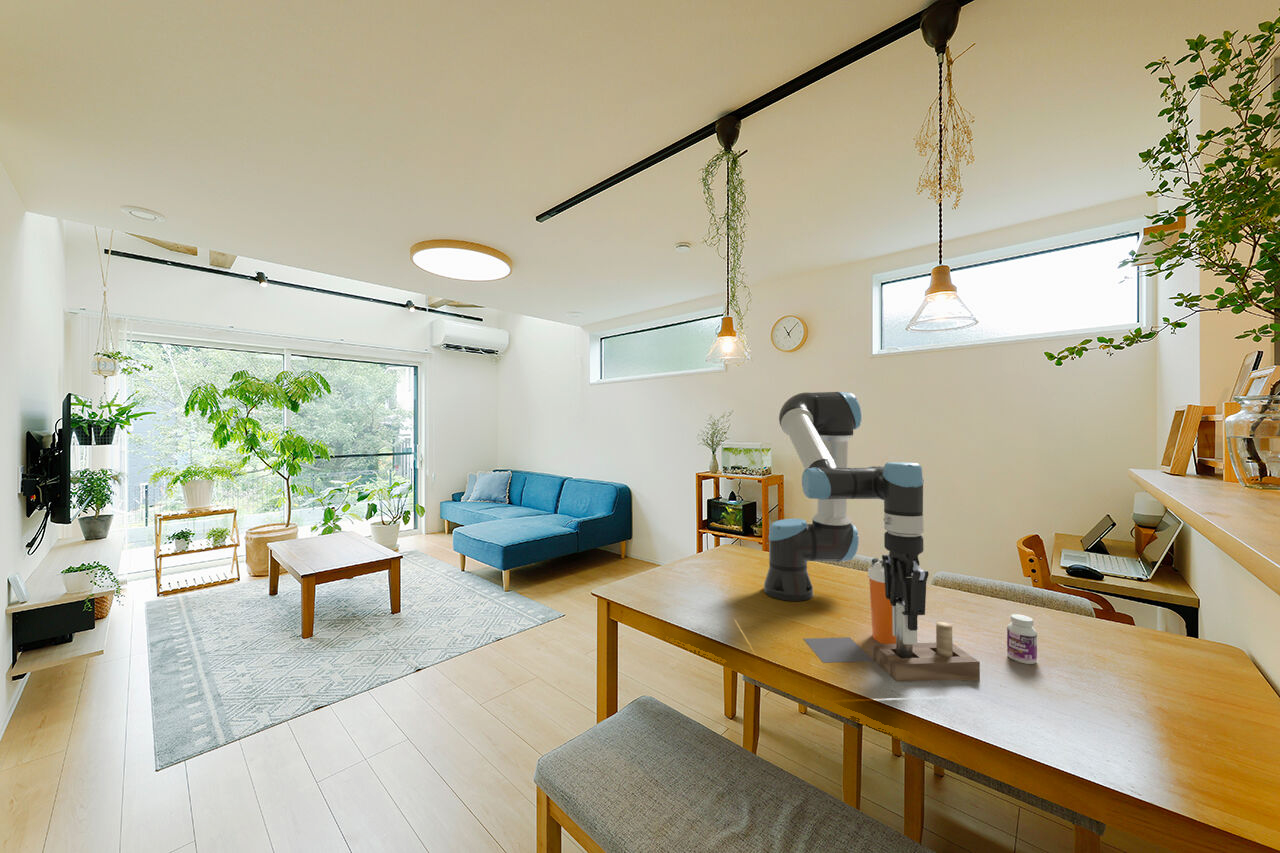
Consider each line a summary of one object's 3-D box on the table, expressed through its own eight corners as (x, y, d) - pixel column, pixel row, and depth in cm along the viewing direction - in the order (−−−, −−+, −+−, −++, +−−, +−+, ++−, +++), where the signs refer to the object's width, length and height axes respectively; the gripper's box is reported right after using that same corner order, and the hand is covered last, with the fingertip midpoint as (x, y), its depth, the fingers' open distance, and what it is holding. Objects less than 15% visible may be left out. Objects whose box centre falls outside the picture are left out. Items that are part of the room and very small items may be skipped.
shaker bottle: (914, 650, 113) (913, 567, 113) (874, 647, 115) (873, 565, 115) (901, 633, 122) (900, 556, 122) (864, 631, 124) (863, 555, 123)
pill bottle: (1006, 659, 108) (1006, 617, 108) (1007, 651, 112) (1007, 610, 112) (1037, 667, 104) (1036, 624, 104) (1037, 658, 108) (1037, 616, 108)
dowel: (933, 666, 105) (933, 622, 105) (946, 666, 105) (946, 622, 105) (942, 674, 102) (942, 628, 102) (956, 673, 102) (955, 627, 102)
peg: (893, 654, 105) (892, 601, 105) (907, 654, 105) (906, 600, 105) (901, 662, 102) (901, 606, 102) (916, 661, 102) (915, 606, 102)
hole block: (873, 661, 108) (873, 644, 108) (950, 659, 108) (950, 642, 108) (896, 683, 99) (896, 664, 99) (979, 680, 99) (979, 661, 99)
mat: (803, 640, 119) (803, 638, 119) (849, 638, 119) (849, 637, 119) (823, 664, 107) (823, 662, 107) (875, 662, 107) (874, 661, 107)
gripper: (867, 525, 111) (868, 624, 111) (909, 542, 95) (910, 658, 95) (898, 524, 112) (899, 623, 112) (945, 541, 95) (946, 656, 95)
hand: (904, 639), depth 103 cm, fingers closed on peg, 3 cm apart
